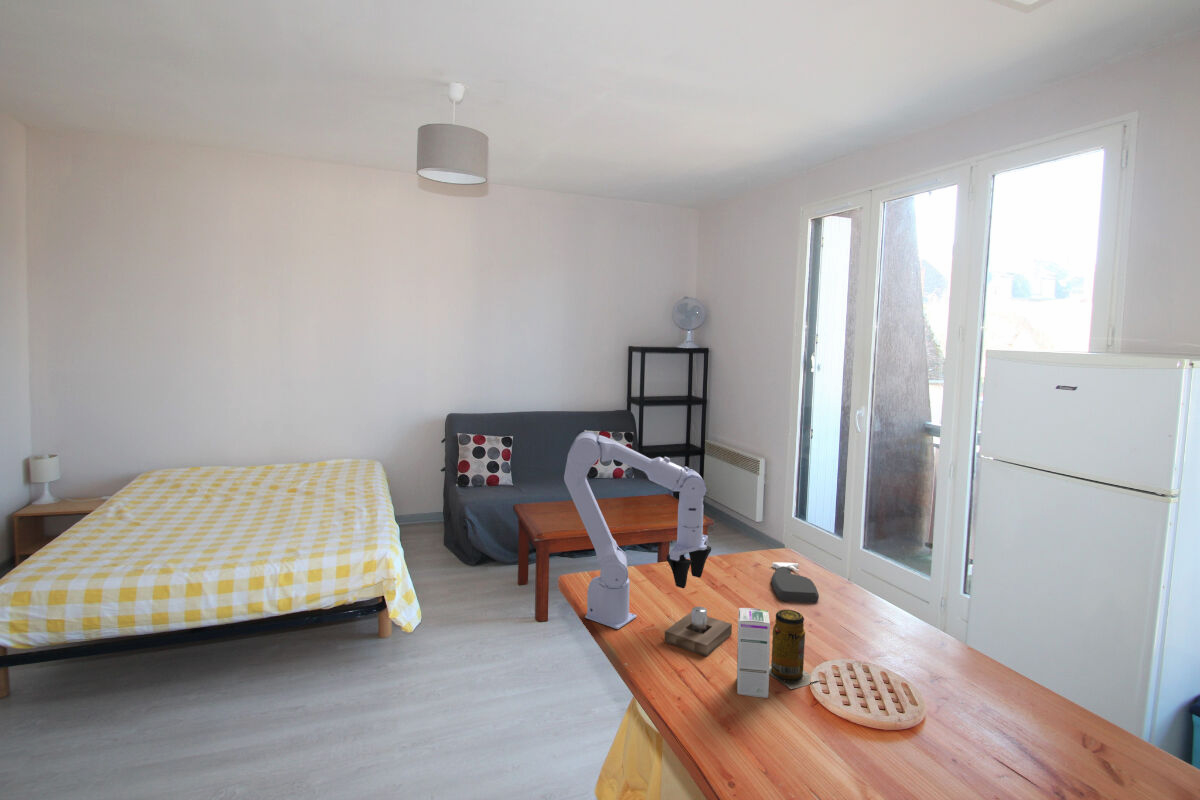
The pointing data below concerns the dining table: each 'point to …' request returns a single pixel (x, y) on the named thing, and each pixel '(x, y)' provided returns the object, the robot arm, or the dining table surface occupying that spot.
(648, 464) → the robot arm
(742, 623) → the syrup box
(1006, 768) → the dining table surface
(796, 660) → the condiment
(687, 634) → the bore block
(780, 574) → the spray bottle
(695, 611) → the pin
